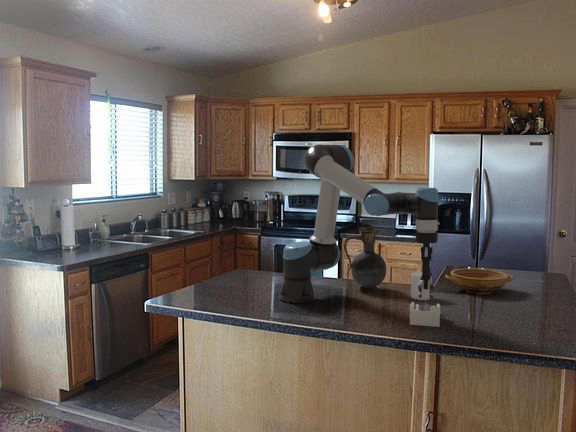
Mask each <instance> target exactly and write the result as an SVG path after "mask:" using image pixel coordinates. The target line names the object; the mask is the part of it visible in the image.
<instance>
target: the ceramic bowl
mask: <svg viewBox="0 0 576 432" xmlns="http://www.w3.org/2000/svg"><path fill="white" fill-rule="evenodd" d="M444 278H446V280H450V281H451V282H453V283H454V284H456V285H457V286H458V287H460V288H463V290H464V291H465V292H467V293H469V292H470V294H474V293H475V295H489V294H492V293H493V291H496V290H498V289H502V288H503V287H505V285H506V284H507V283H509V282H512V281H513V280H514V278H515V277H514V276H513V275H511V274H508V273H505V272H503V271H499V270H495V269H487V268H475V267H469V268H467V267H466V268H459V269H458V268H456V269H453V270H451V271H450V275H449V274H445V275H444Z"/></svg>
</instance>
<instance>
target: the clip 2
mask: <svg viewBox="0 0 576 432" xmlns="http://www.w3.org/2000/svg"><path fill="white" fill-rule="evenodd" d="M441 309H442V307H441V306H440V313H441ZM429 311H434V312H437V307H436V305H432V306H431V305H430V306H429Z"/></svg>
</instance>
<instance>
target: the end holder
mask: <svg viewBox="0 0 576 432" xmlns="http://www.w3.org/2000/svg"><path fill="white" fill-rule="evenodd" d="M410 304H411V308H410V307H409V325H410V326H423V327H435V328H436V327H437V328H440V325H441V324H440V323H441V320H440V319H441V312H440V307H441V306H440V305H441V304H440V303H436V308H437V312H434V311H430V310H421V309H420V310H416V309H415V301H412V302H411V303H410Z"/></svg>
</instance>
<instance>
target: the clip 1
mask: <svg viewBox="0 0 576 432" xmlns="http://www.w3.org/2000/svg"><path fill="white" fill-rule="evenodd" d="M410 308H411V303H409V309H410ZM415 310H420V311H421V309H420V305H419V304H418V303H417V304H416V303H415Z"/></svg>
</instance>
